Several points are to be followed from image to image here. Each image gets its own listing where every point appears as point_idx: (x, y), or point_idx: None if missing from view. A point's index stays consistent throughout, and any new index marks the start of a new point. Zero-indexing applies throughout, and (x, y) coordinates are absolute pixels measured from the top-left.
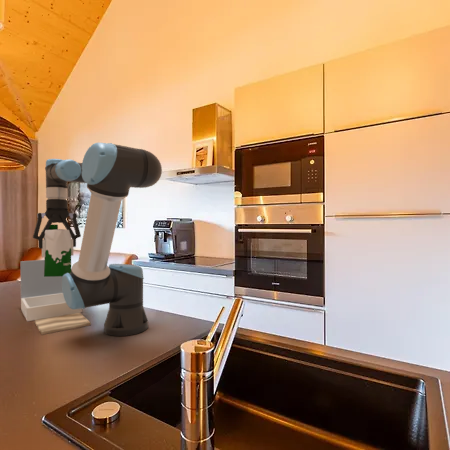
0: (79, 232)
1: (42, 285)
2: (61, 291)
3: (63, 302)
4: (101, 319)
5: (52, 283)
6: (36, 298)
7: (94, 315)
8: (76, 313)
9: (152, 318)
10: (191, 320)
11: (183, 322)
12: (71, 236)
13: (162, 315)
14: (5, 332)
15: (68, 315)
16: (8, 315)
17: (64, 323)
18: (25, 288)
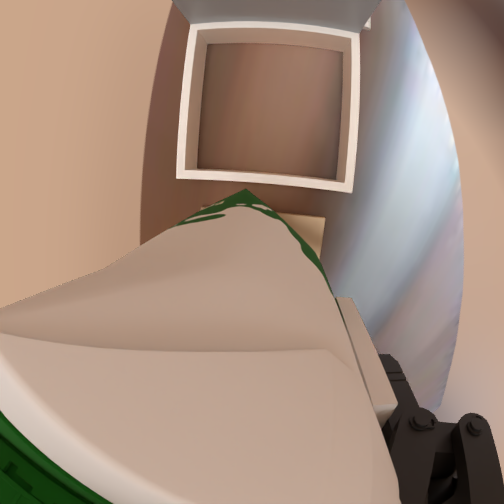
0: (446, 500)
1: (255, 3)
2: (326, 24)
3: (325, 47)
4: (347, 296)
5: (295, 3)
6: (237, 29)
7: (353, 249)
8: (315, 219)
9: (415, 355)
10: (434, 393)
11: (421, 396)
12: (393, 447)
13: (438, 348)
14: (141, 240)
15: (289, 224)
16: (162, 80)
17: None
18: (194, 8)
